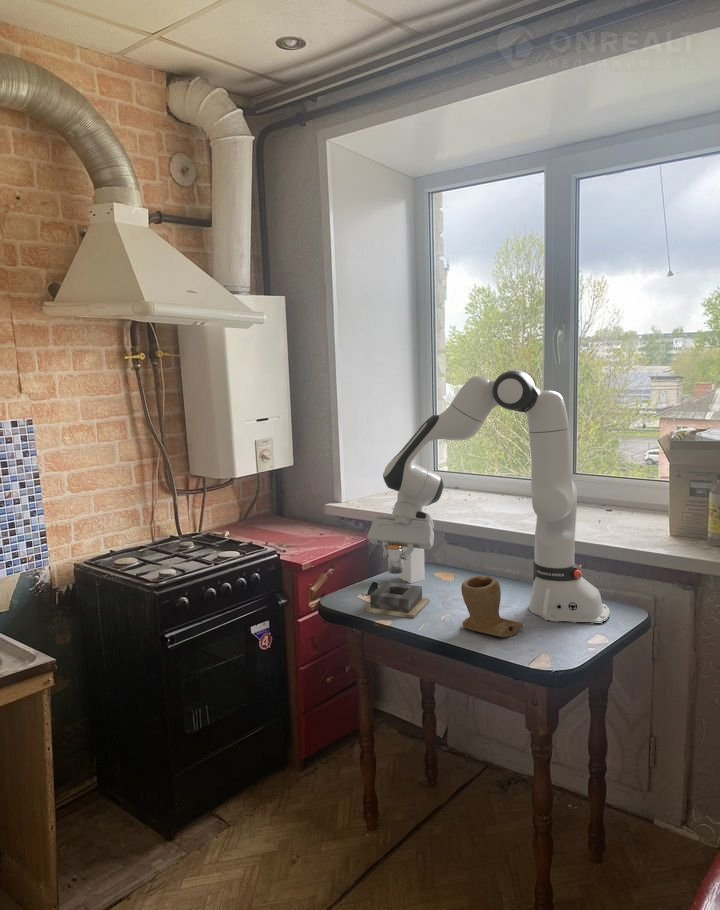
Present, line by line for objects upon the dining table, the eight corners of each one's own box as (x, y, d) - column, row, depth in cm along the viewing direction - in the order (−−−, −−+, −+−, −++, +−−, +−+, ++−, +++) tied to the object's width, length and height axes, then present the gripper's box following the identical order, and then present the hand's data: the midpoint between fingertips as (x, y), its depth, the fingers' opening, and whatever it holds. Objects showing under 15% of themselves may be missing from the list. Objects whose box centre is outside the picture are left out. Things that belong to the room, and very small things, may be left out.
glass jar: (405, 569, 204) (404, 544, 203) (400, 574, 200) (399, 548, 199) (391, 568, 206) (391, 542, 205) (386, 572, 202) (385, 546, 201)
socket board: (429, 601, 208) (429, 586, 207) (414, 618, 195) (413, 601, 194) (381, 595, 214) (380, 580, 214) (363, 611, 202) (362, 595, 201)
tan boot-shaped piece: (452, 631, 185) (451, 578, 183) (477, 618, 194) (476, 567, 192) (500, 646, 175) (500, 590, 173) (524, 632, 184) (524, 578, 181)
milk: (411, 583, 225) (409, 518, 221) (399, 579, 230) (398, 515, 226) (425, 579, 228) (423, 515, 225) (413, 575, 233) (412, 512, 230)
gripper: (371, 510, 211) (359, 549, 204) (434, 515, 203) (424, 556, 196) (377, 521, 216) (365, 559, 209) (439, 526, 208) (429, 566, 200)
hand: (394, 557), depth 202 cm, fingers closed on glass jar, 4 cm apart
